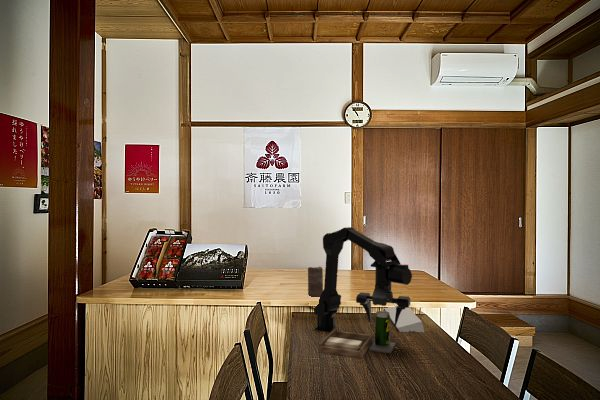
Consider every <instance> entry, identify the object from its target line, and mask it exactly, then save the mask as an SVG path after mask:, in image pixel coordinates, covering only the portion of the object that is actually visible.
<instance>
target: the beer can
mask: <svg viewBox="0 0 600 400" xmlns="http://www.w3.org/2000/svg"><path fill="white" fill-rule="evenodd" d="M374 316H375V317H374V341H375V345H376V346H377V347H379V348H387V347H389V345H390V342H391V319H390V313H389V312H387V311H385V310H377V311H375V315H374Z"/></svg>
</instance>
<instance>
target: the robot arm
mask: <svg viewBox="0 0 600 400" xmlns="http://www.w3.org/2000/svg"><path fill="white" fill-rule="evenodd" d="M348 241H350V242H351V243H353V244H355V245H356V246H358V247H359V248H361V249H363V250H364V251H366V252H367V253H368V256H369V257H370V258H371V259H373V263H371V264H370V267H372V268H375V278H374V279H375V281H374V282H375V284H374V290H373V292H372V295H371V294H370V292H361V291H360V292H359V293H358V294H357V295H356V297H355V303H357V304H359V306H362V307H363V309H364V311H365V314H366V316H367V319H368V322H369V323H371V322H372V305H373V306H378V305H379V306H382V307H383V306H386V305H388V304H394V303H395V304H397V305H398V306H397V307H396V316H395V324H394V326H395V325H396V324H397V322H398V319H399V316H400V313H401V311H402V310H404V309H405V308H408V307H409V308H410V306H411V298H410V296H405V295H399V296H398V297H397V298H396V297H394V294H393V291H392V283H394V284H395V283H396V284H400V285H405V286H408V285H409V284H410V283H411V282H412V280H413V279H412V278H413V274H412V271H411V269H410V268H409V264H402V263H401V262H400V260H399V258H398V256H397V254H396V253H395V249H394V247H393V246H391V245H390V244H386V243H383V242H377V241H375V240H373V239H372V238H370V237H368V236H366V235H365V234H363V233H361V232H359V231H358V230H356V229H355V228H353V227H350V226H348V227H347V226H346V227H343V228H341V229H339V230H336V231H333V232H329V233H328V232H327V233H325V234H324V235H323V237H322V249H323V250H324V252H325V254H326V257H325V273H324V284H323V292H322V294H321V295H320V299H319V304H318V305H317V306H316V307H315V308H313V313H314V315H316V317H317V318H316V319H317V320H316V325H317V326H316V328H315V330H317V331H324V332H332V331H333V330H334V329H335V328H336V317H335V314H337V313H338V309H340V305H342V302H341V300H342V295H341V294H339V293H338V290H337V285H338V284H337V283H338V272H339V271H338V268H339V258H340V257H339V256H340V254H341V252H342V250H343V248H344V244H345V242H348Z"/></svg>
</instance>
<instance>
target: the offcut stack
mask: <svg viewBox="0 0 600 400" xmlns="http://www.w3.org/2000/svg"><path fill="white" fill-rule="evenodd" d="M362 346H363V340H358V339H350V338H342V337H336V338H335V337H330V338H329V339H328V340H327V341H326V343H325V347H332V348H340V349H347V350H354V351H360V348H361V347H362Z"/></svg>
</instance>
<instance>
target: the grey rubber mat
mask: <svg viewBox="0 0 600 400" xmlns="http://www.w3.org/2000/svg"><path fill="white" fill-rule="evenodd" d="M395 346H396V342H392V341H390V345H389V347H387V348H379V347H377V346H376V345H375V340H374V342H373V343H372V345H371V346H370V348H369V349H368V351H371V352H377V353H383V354H384V353H385V354H392V352H393V350H394V348H395Z"/></svg>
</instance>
